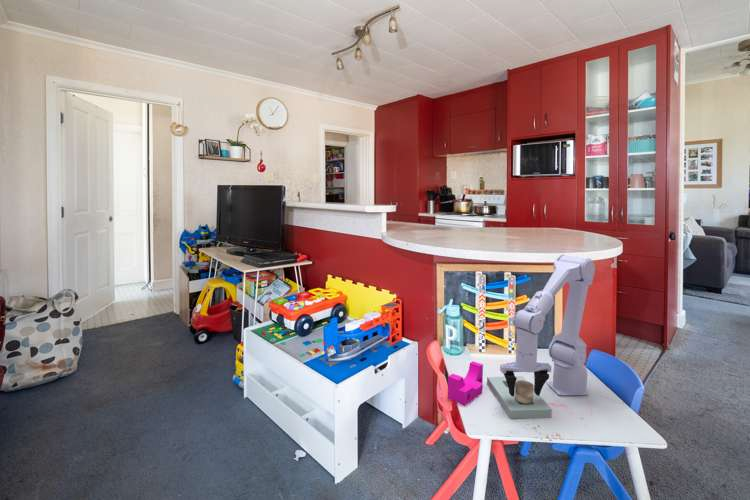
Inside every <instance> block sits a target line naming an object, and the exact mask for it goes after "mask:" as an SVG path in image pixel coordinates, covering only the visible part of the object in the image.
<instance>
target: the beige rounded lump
mask: <svg viewBox="0 0 750 500" xmlns="http://www.w3.org/2000/svg"><path fill="white" fill-rule="evenodd" d="M533 389H534V384H533V382H531V381H528V380H526V381H523V380H520V381H517V382H516V385H515V400H516V401H517V402H518V403H519V404H520V405H522V404H524V405H530V404H532V403H533Z"/></svg>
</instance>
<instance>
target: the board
mask: <svg viewBox="0 0 750 500" xmlns="http://www.w3.org/2000/svg"><path fill="white" fill-rule="evenodd" d="M514 376H515V377H516V378H517V379H516V382H517V381H520V380H523V381H527V380H526V379H525V377H524V376H522V375H514ZM486 385H487V386H488V388H489V389H490V390H491V392H492V394H493V395H494V397H495V398H496V399H497V401H498V402H499V404H500V405H501V407H502V408H503V410H504V412H505V413H506V414H507V416H508V417H509V419H512V420H513V419H542V418H547V419H548V418H552V414H553V410H552V409H553V408H551V407H550V405H549V404H548V403H547V402H546V400H544V398H543V397H542V396H541V394H540V395H539V396H537V395H536V394H535V393H534V389H533V403H532V404H530V405H524V404H522V405H520V404H519V403H518V402H517V401H516V400H515V394H514V396H511V395H510V394H509V388H508V384H507V381H506V378H505V376H487V377H486ZM515 385H516V383H515Z"/></svg>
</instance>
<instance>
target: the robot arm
mask: <svg viewBox="0 0 750 500" xmlns="http://www.w3.org/2000/svg"><path fill="white" fill-rule="evenodd" d="M595 270H596V265H595V263H594V261H593V260H592V258H589V257H586V258H585V257H578V256H572V255H571V256H570V255H566V254H559V255H558V256H557V258H556V259H555V261H554V262H553V272H552V274H551V275H550V277H549V279H548V281H547V282H546V283H545V285H544V288H543V289H542V290H538V291H536V292H535V293H534V295H533V296H532V298H531V299H530V300H529V301H528V303H527V305H525V307H524V308H523V309H520V310H517V312H515V314H514V316H513V319H512V323H513V327H514V333H515V334H516V343H515V348H516V349H515V361H512V362H509V363H504V364H503V363H501V364H500V366H499V371H500V372H501V373H502V374H503V377H505V378H506V381H507V384H508V388H509V394H510V395H511V396H514V394H515V383H516V379H517V378H516V377H515V376H516V375H515V373H533V378H534V384H533V385H534V393H535V394H536V395H537V396H539V395H540V396H541V392H542V391H543V390H542V389H543V388H544V385H545V384H546V383H547V385H548V386H549V387H550V389H552V390H553V391H554V392H555V393H556V395H558V396H559V397H561V396H562V397H563V396H564V397H565V396H566V397H567V396H587V395H588V392H587V389H588V388H587V386H588V370H587V367H586V366H585V363H586V360H587V344H586V343H585V342H584V341H583V339H582V338H581V337H580V331H581V326H582V321H583V315H584V312H585V311H584V310H585V304H586V299H587V295H588V289H589V286H592V284H593V281H594V277H595V273H596V271H595ZM567 283H568V285H569V288H568V294H567V298H566V304H565V309H564V315H563V320H562V321H563V322H562V325H561V331H560V333H558V334H555V335H553V336H552V340H551V342H550V344H549V345H548V349H547V350H548V355H549V357H550V358H551V362H553V371H552V365H551V364H549V363H548V362H538V359H537V358H538V343H539V333H540V332H541V331H542V330H543V327H544V324H545V321H546V316H547V314H548V313H549V311H551V308H552V307H553V306H554V305H555V299H554V297H556V295H557V294H558V293H559V292H560V290H562V289H563V287H564V286H565V285H566V284H567ZM552 372H553V373H552ZM549 373H552V381H548V380H549V379H550V374H549ZM547 381H548V382H547Z"/></svg>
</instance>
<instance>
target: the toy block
mask: <svg viewBox="0 0 750 500" xmlns="http://www.w3.org/2000/svg"><path fill="white" fill-rule="evenodd" d="M483 372H484V364H483V363H480V362H477V361H471V362H470V363H469V367H468V370H467V373H466V375H465V377H463V376H461V375H457V374H456V373H451V374H450V375H448V376H447V399H448V400H451V401H453V402H455V403H458V404H460V405H462V406H468V404H470V403H471V402H472V401H473V400H475V399H476V398H478V397H479V396H480V395H482V394H483V378H484V377H483V375H484V373H483Z"/></svg>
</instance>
